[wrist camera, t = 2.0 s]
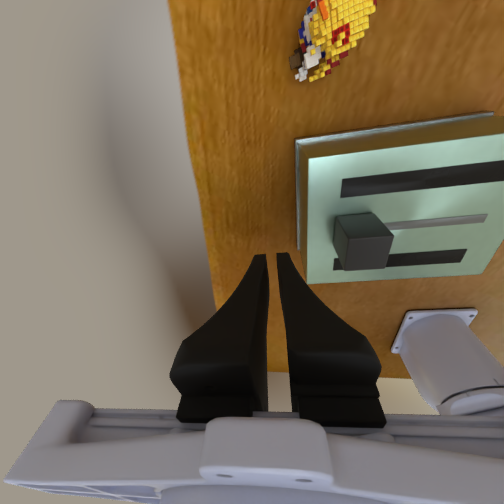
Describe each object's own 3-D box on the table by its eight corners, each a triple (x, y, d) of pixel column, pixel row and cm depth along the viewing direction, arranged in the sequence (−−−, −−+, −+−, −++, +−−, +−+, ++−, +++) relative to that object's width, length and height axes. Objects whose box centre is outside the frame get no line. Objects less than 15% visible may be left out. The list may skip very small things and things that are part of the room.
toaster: (434, 235, 21) (483, 276, 16) (296, 246, 23) (304, 286, 18) (485, 110, 15) (587, 117, 10) (294, 138, 17) (304, 155, 12)
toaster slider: (368, 243, 15) (385, 269, 13) (332, 246, 16) (343, 271, 13) (374, 212, 14) (395, 235, 12) (335, 216, 14) (348, 239, 12)
